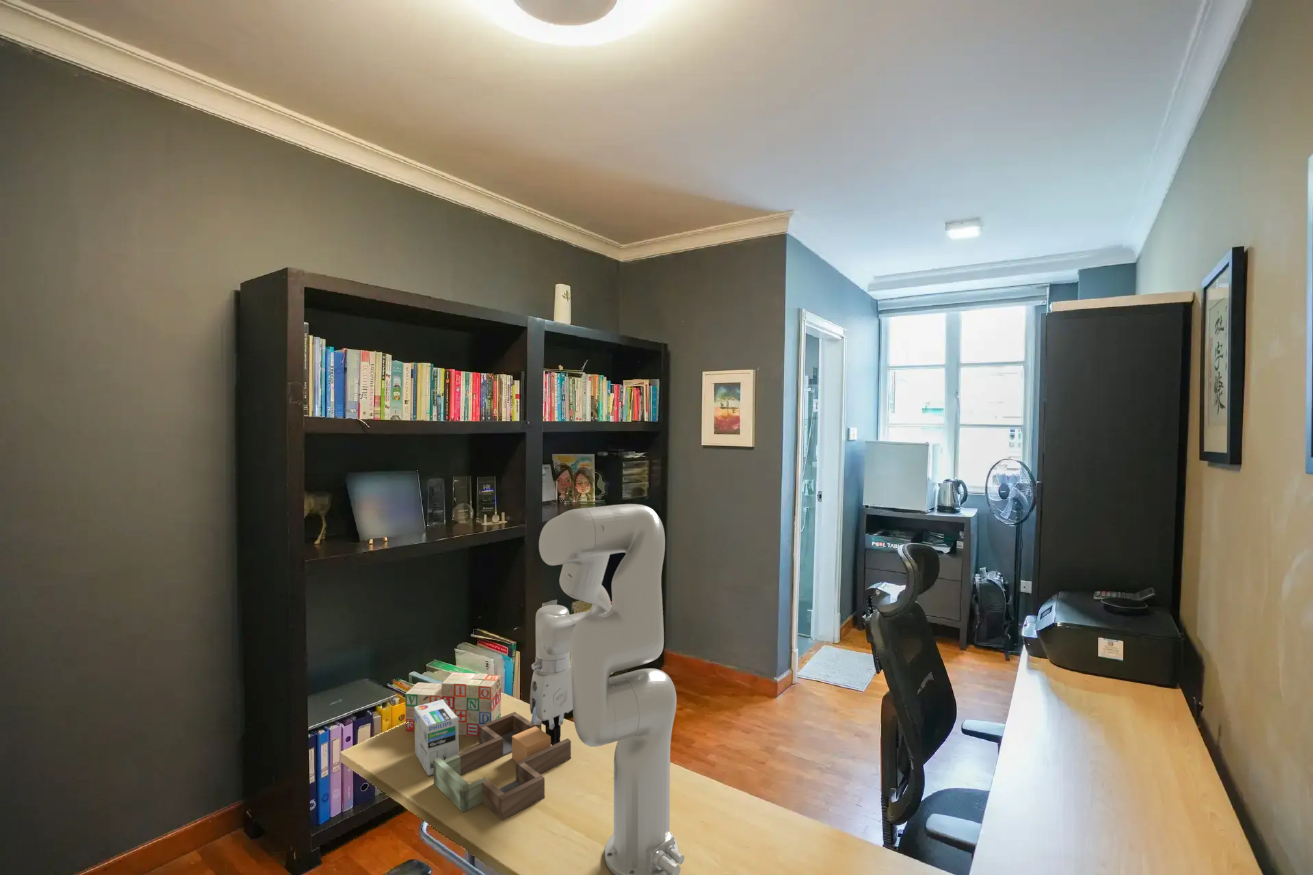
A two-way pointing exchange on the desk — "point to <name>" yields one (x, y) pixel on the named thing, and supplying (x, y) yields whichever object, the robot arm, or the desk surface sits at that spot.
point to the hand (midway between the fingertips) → (553, 742)
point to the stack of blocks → (460, 699)
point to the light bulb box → (435, 733)
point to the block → (529, 743)
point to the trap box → (494, 746)
